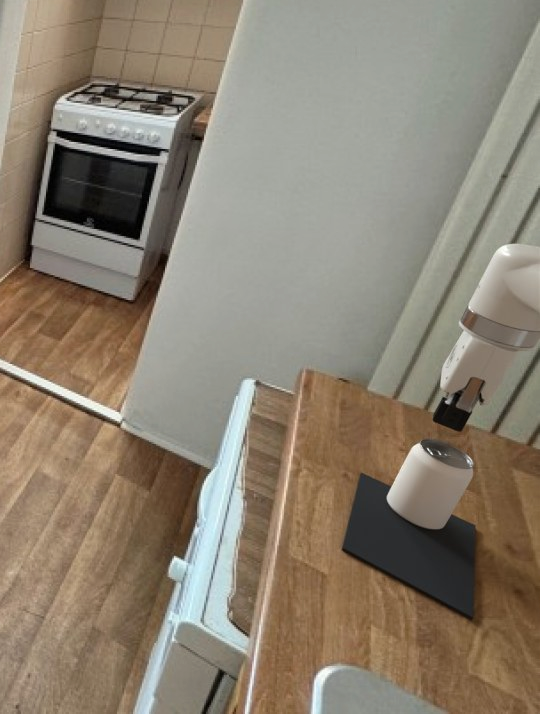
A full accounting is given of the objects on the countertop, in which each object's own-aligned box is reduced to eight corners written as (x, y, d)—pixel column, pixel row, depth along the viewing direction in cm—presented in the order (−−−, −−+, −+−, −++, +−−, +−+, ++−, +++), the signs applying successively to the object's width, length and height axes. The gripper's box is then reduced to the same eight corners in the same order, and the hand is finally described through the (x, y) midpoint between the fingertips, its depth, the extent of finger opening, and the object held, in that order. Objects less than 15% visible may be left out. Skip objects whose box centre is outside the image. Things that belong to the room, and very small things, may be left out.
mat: (474, 527, 90) (475, 525, 90) (471, 620, 78) (473, 617, 77) (360, 474, 99) (361, 472, 99) (341, 550, 86) (342, 547, 86)
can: (454, 537, 88) (490, 476, 84) (398, 522, 90) (430, 462, 86) (428, 502, 94) (461, 443, 89) (377, 489, 96) (406, 431, 91)
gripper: (464, 297, 94) (416, 390, 101) (461, 335, 85) (409, 434, 92) (536, 318, 89) (481, 414, 96) (542, 361, 80) (480, 464, 86)
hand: (446, 424), depth 94 cm, fingers closed
